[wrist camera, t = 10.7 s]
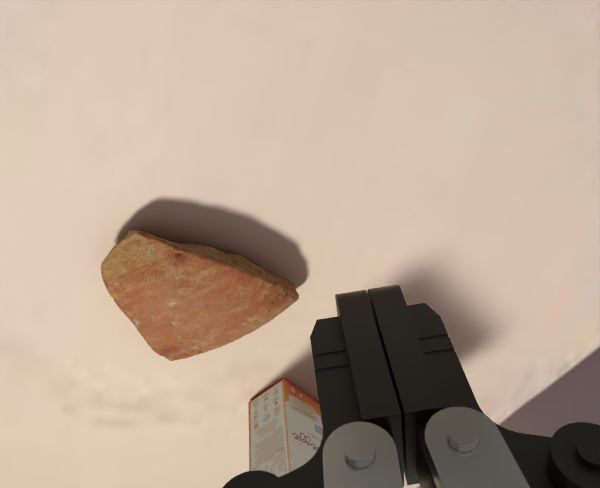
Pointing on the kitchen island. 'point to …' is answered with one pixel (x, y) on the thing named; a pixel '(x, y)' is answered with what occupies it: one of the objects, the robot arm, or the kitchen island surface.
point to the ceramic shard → (191, 293)
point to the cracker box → (283, 429)
